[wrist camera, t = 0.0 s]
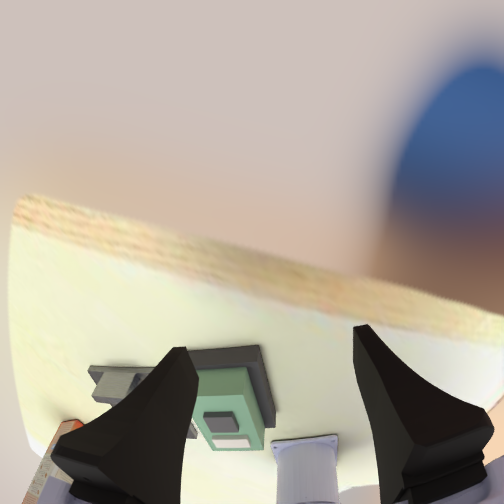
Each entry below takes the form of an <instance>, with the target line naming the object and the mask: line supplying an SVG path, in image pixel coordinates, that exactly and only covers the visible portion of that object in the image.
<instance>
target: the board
mask: <svg viewBox="0 0 504 504" xmlns="http://www.w3.org/2000/svg"><path fill="white" fill-rule="evenodd" d="M196 372H197V374H198V376H199V386H198V394H197V400H196V404H195V407H194V411H193V415H192V418H193V419H194V421H195V423H196V424H197V426H198V428H199V429H200V431H201V433H202V434H203V436H204V438H205V439H206V441H207V442H208V444H209V446H210V447H211V449H212V450H213V451H250V450H264V432H265V425H264V422H263V419H262V416H261V412H260V409H259V406H258V403H257V400H256V397H255V394H254V390H253V387H252V384H251V381H250V377H249V374H248V371H247V368H246V367H237V368H223V369H206V370H196Z"/></svg>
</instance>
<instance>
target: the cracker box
mask: <svg viewBox="0 0 504 504" xmlns="http://www.w3.org/2000/svg"><path fill="white" fill-rule="evenodd" d="M81 426H83V424H82V423H81V422H79V421H78V420H73V421H67V422H62V423H61V424H60V426H59V428H58V430H57V432H56V434H55V436H54V438H53V439H52V441H51V443H50V445H49V447H48V449H47V451H46V453H45V455H44V457H43V459H42V461H41V463H40V465H39V468H38V470H37V472H36V474H35V476H34V478H33V480H32V482H31V484H30V486H29V489H28V491H27V493H26V495H25V498H24V500H23V502H22V504H36V503H37V501H38V499H39V496H40V494H41V492H42V489H43V487H44V485H45V483H46V481H47V478H48V476H49V475H51V476H54V477H56V478H59V479H61V480H64V481H66V482H68V483H70V484H72V483H73V479H72V478H71V477H69V476H68V475H67V474H66V473H65V472H63V471H62V470H61V469H60V468H59V467H58V466H57V465H56V464H55V463H54V462H53V461H52V460H51V457H50V455H51V453H52V451H53V449H54V447H55V445H56V443H57V441H58V439H59V437H60V435H63V434H65V433H68V432H70V431H73V430H75V429H77V428H79V427H81Z"/></svg>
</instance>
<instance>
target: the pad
mask: <svg viewBox="0 0 504 504" xmlns="http://www.w3.org/2000/svg"><path fill="white" fill-rule="evenodd" d="M188 353H189V356H190V358H191V360H192V363H193V365H194V367H195V369H196V370H206V369H223V368H237V367H246V368H247V371H248V374H249V377H250V381H251V384H252V387H253V390H254V394H255V397H256V400H257V403H258V406H259V409H260V412H261V416H262V419H263V422H264V425H265V428H275V425H276V412H275V408H274V404H273V400H272V396H271V392H270V388H269V385H268V381H267V377H266V373H265V369H264V365H263V361H262V357H261V353H260V349H259V345H254V346H245V347H234V348H222V349H209V350H194V351H188Z"/></svg>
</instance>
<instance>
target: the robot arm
mask: <svg viewBox="0 0 504 504" xmlns="http://www.w3.org/2000/svg"><path fill="white" fill-rule="evenodd" d="M353 363H354V369H355V374H356V379H357V383H358V386H359V389H360V392H361V396H362V399H363V402H364V405H365V408H366V411H367V415H368V418H369V421H370V425H371V429H372V434H373V440H374V446H375V453H376V460H377V467H378V476H379V486H380V500H381V504H504V455H503V456H501V457H499V458H497V459H495V460H493V461H492V462H490V463H488V464H487V465H486V466H485V467H484V464H483V462H482V460H483V459H484V454H483V451H482V450H483V448H484V447H485V446H486V444H487V443H488V442H489V440H490V439H491V437H492V435H493V433H494V426H493V424H492V422H491V420H490V418H489V416H488V415H487V413H486V412H485V410H484V409H483V408H481V407H478V406H475V405H472V404H470V403H467V402H464V401H462V400H460V399H458V398H456V397H453V396H451V395H449V394H448V393H446V392H444V391H442V390H441V389H439V388H437V387H435V386H434V385H432V384H431V383H429V382H428V381H426V380H425V379H424V378H422V377H421V376H419V375H418V374H417V373H416V372H414V371H413V370H412V369H411V368H410V367H408V366H407V365H406V364H405V363H404V362H403V361H402V360H401V359H400V358H398V357H397V356H396V355H395V354H394V353H393V352H392V351H391V350H390V349H389V348H388V346H387V345H386V344H385V343H384V342H383V341H382V340H381V339H380V338H379V337H378V335H377V334H376V333H375V332H374V331H373V329H372V328H371V327H370V326H369V325H368V324H366V325H361V326H355V327H353ZM198 386H199V376H198V374H197V372H196V369H195V367H194V365H193V363H192V360H191V358H190V356H189V353H188V351H187V349H186V347H173V348H172V349H171V350H170V351H169V352H168V353H167V355H166V356H165V357H164V358H163V359H162V360H161V361H160V362H159V364H158V365H157V366H156V367H155V368H154V369H153V370H152V371H151V372H150V373H149V375H148V376H147V377H146V378H145V379H144V380H143V381H142V382H141V383H140V384H139V385H138V386H137V387H136V388H135V389H134V390H133V391H132V392H131V393H129V394H128V395H127V396H126V397H125V398H124V399H123V400H121V401H120V402H119V403H118V404H116V405H115V406H114V407H112V408H111V409H109V410H108V411H107V412H105V413H104V414H102V415H101V416H99V417H98V418H96V419H94V420H93V421H91V422H89V423H87V424H85V425H83V426H81V427H79V428H77V429H75V430H73V431H70V432H68V433H65V434H63V435H60V437H59V439H58V441H57V443H56V445H55V447H54V449H53V451H52V453H51V455H50V457H51V460H52V461H53V462H54V463H55V464H56V465H57V466H58V467H59V468H60V469H61V470H62V471H63V472H65V473H66V474H67V475H68V476H69V477H71V478H72V479H73V483H72V484H70V483H68V482H66V481H64V480H61V479H59V478H56V477H54V476H51V475H49V476H48V478H47V481H46V483H45V485H44V487H43V489H42V492H41V494H40V496H39V499H38V501H37V503H36V504H180V492H181V474H182V464H183V455H184V448H185V442H186V437H187V433H188V430H189V426H190V422H191V419H192V415H193V411H194V407H195V404H196V400H197V394H198ZM337 446H338V437H337V435H329V436H322V437H315V438H307V439H298V440H287V441H275V442H271V448H272V451H273V454H274V457H275V460H276V463H277V465H278V468H277V503H276V504H341V503H339V492H338V482H337V472H336V466H337Z"/></svg>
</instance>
